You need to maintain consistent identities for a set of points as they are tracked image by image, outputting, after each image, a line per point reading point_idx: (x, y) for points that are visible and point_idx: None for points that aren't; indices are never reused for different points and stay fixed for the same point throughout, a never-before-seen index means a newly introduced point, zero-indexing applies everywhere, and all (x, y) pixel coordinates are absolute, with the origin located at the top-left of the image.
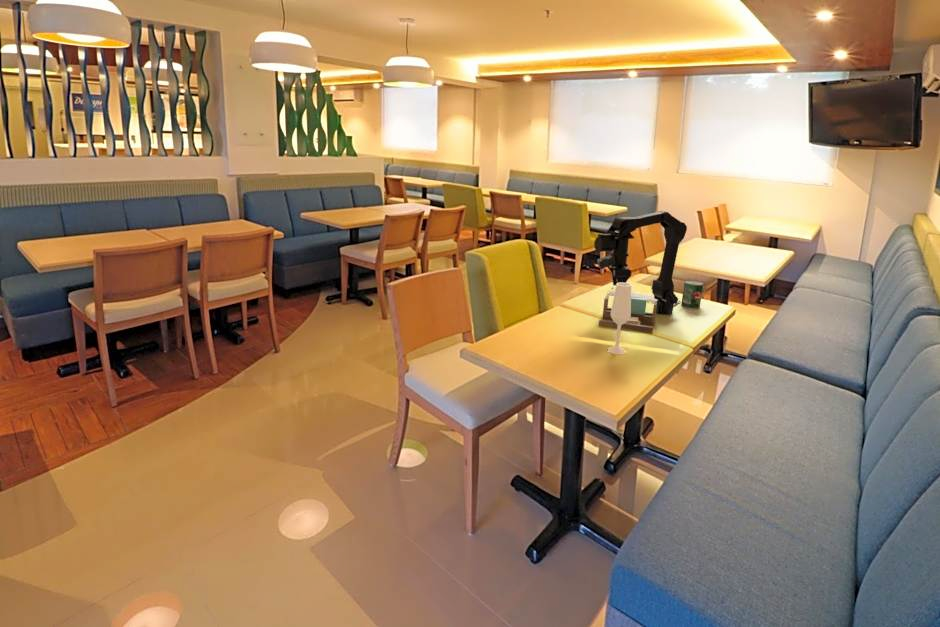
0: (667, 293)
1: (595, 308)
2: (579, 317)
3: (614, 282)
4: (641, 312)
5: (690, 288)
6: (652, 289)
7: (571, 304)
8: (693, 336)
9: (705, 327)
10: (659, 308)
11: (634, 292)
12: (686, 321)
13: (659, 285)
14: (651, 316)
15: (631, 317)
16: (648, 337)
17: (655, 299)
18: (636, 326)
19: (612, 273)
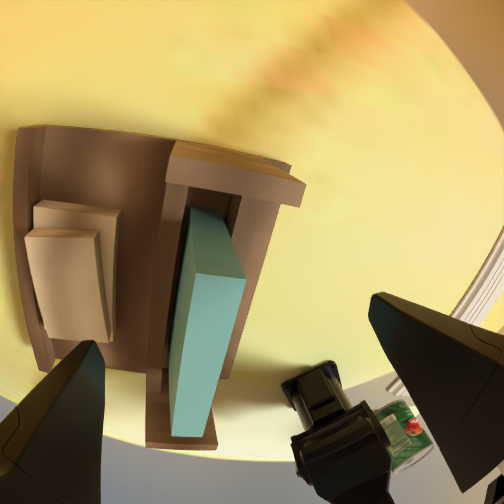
0: (300, 473)
1: (393, 131)
2: (215, 14)
3: (389, 322)
4: (170, 366)
5: (398, 454)
6: (372, 430)
7: (426, 35)
8: (115, 433)
9: (211, 453)
10: (306, 400)
11: (495, 296)
12: (255, 429)
13: (338, 479)
14: (154, 390)
15: (89, 314)
16: (25, 334)
17: None
18: (27, 316)
19: (490, 368)
